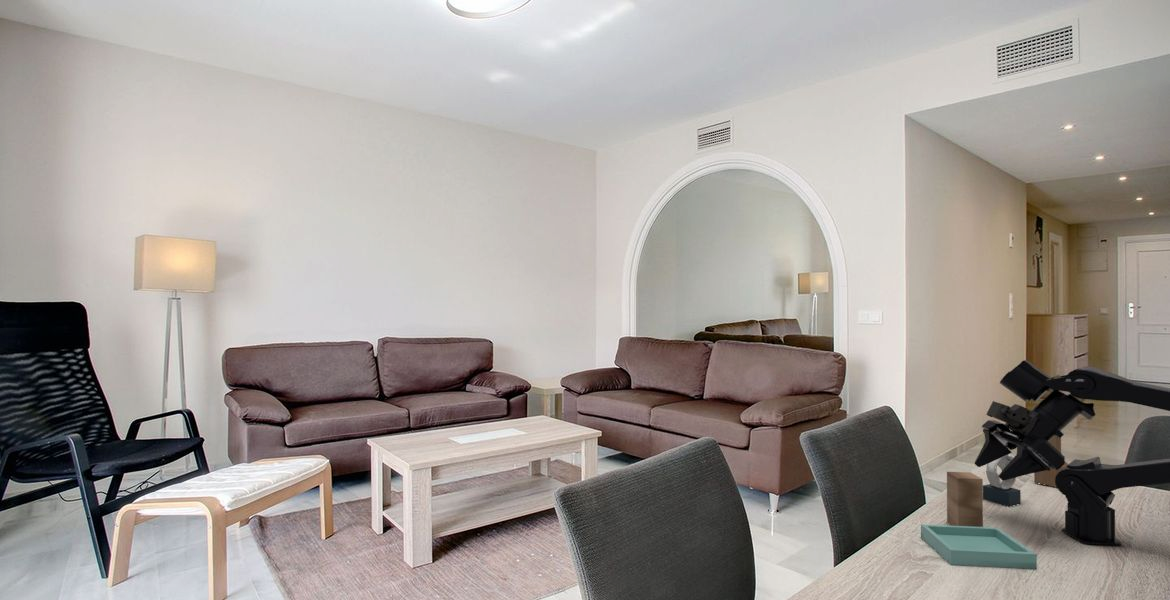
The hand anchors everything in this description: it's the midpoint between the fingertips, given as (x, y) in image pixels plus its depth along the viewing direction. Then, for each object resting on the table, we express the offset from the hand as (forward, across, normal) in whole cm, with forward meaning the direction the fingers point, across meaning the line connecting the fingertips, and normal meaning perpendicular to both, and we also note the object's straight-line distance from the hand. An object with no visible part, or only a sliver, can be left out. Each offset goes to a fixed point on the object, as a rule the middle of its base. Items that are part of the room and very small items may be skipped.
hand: (988, 471), depth 116 cm
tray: (+14, +13, +2) cm, 19 cm away
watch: (0, -17, +16) cm, 23 cm away
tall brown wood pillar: (+11, 0, +5) cm, 12 cm away
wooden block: (-13, -31, +30) cm, 45 cm away
